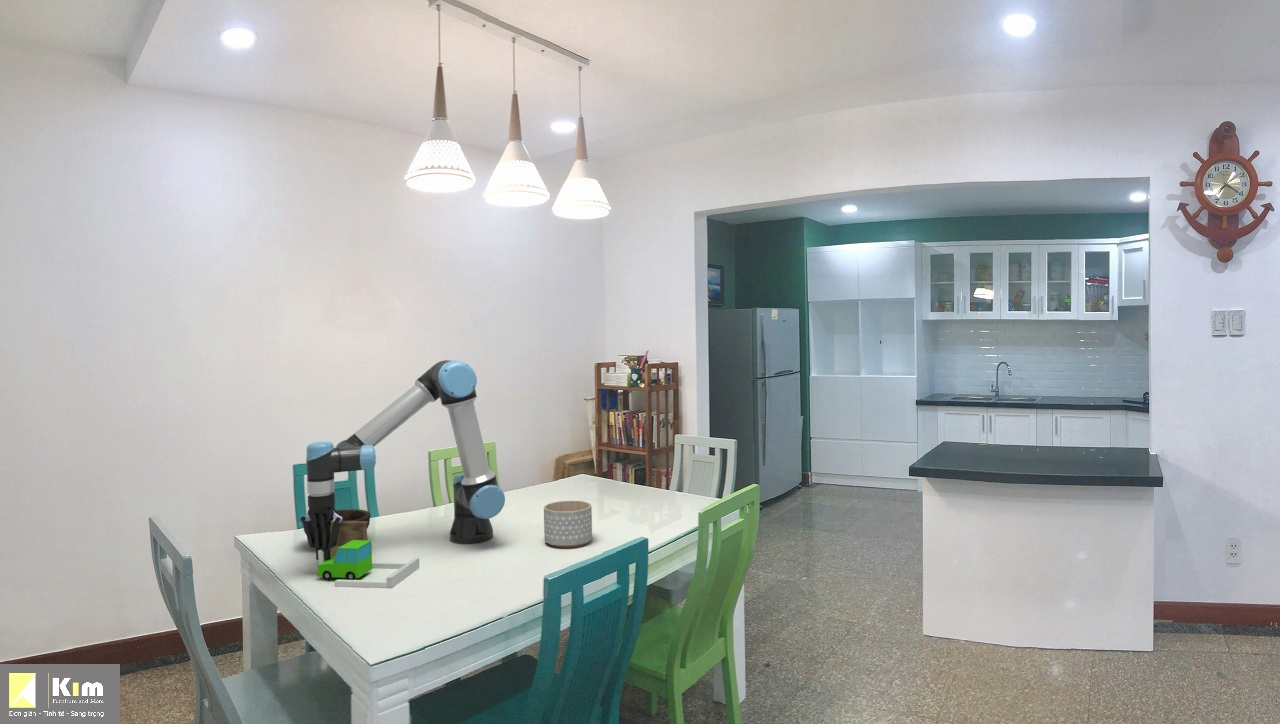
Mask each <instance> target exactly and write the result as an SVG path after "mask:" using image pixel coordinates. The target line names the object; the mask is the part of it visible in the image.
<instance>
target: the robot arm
mask: <svg viewBox="0 0 1280 724" xmlns="http://www.w3.org/2000/svg"><path fill="white" fill-rule="evenodd" d="M477 378H478V377H477V375H476V372H475V370H474V369H473V368H472V366H470V365H469V364H468V363H466V362H464V361H461V360H451V359H450V360H448V359H445V360H440V361H438V362H437V363H435V364H434V365H432V366H431V367H430V368H429V369H427V371H425V372H424V373H423V374H422V375H421V376H420V377H418V378H417V379H415V380H414V381H415V382H414V385H413V386H412V387H411V388H409V389H408V390H407V391H405V392H404V393H403V394H401V396H399V397H398V398H397V399H395V400H394V401H393V402H392V403H391V404H389V405H388V406H387V407H385V408H384V409H383V410H382V411H380V412H379V413H378V414H377V415H376V416H374V417H373V418H372V419H370V420H369V421H368V422H367V423H366V424H364V425H363V426H362V427H361V428H359V429H358V430H357V431H356V432H354V433H353V434H352V435H350V436H349V437H348V438H347V439H344V440H341V441H339V442H338V443H337V444H336V446H335V447H334V443H333V442H331V441H316V442H311V443H309V444H308V445H307V447H306V458H305V461H306V462H305V463H306V479H307V480H306V486H307V489H306V490H307V494H308V496H307V507H308V511H307V513H306V514H305V515H303V516H301V517H300V521H301V523H302V525H303V524H304V527H303V529H304V528H305V531H306V534H305V536H306V538H307V542H308V547H309V548H310V549H314V550H315V558H316V559H315V560H316V561H318V565H319V564H321V563H322V562H324V561H326V560H329V559H330V549H331V548H333V547H334V546H336V544H337V539H338V534H339V529H340V524H341V522H342V520H343V518H344V517H343V516H339V515H338V514H336V510H337V509H336V508H335V506H336V496H335V495H336V494H335V491H336V490H335V474H336V473H343V472H357V471H366V470H371V469H373V468H375V466H376V463H377V454H376V449H375V447H376V446H377V445H379V443H381V442H382V441H384V440H385V439H386V438H387V437H389V435H391V434H392V433H394V432H395V431H396V430H397V429H398V428H400V427H401V426H402V425H403V424H404V423H405V422H407V421H408V420H409V419H410V418H411V417H413V416H415V414H417V413H418V412H419V411H420V410H422V408H424V407H425V406H427V405H428V404H429V403H434V402H436V401H438V399H440V403H441V405H442V407H444V408H446V409H447V411H448V415H449V419H450V423H451V427H452V431H453V435H454V439H455V445H456V448H457V452H458V457H459V460H460V464H461V468H462V473H463V474H457V475H455V476H454V477H453V483H452V487H453V511H454V515H453V517H454V518H453V520H452V521H453V522H452V525H451V527H450V531H449V541H451V542H452V543H456V544H475V543H477V544H478V543H481V542H486V541H489V540H490V539H493V537H494V528H493V525H492V523H491V520H490V519H492V518H494V517H496V516H498V514H499V513H501V511H502V510H503V508H504V506H505V502H506V496H505V494H504V492H503V490H502V488H501V487H500V486H499V485H498V480H497V476H496V473H495V472H494V471H492V470H491V469H490V466H489V461H488V458H487V454H486V453H487V452H486V449H485V445H484V444H485V443H484V441H483V437H482V436H483V435H482V431H481V428H480V425H479V424H480V423H479V419H478V415H477V411H476V407H475V401H476V400H477V397H478V396H477V391H476V386H477V382H478V381H477V380H478V379H477ZM333 518H334V519H333ZM332 519H333V525H332V530H331V531H330V526H331V520H332ZM311 520H312V521H313V524H312V521H311ZM322 548H323V549H322Z"/></svg>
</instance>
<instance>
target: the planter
mask: <svg viewBox="0 0 1280 724" xmlns="http://www.w3.org/2000/svg"><path fill="white" fill-rule="evenodd" d="M592 507H593V506H592V504H591V503H590V502H587V501H584V500H583V501H582V500H561V501H559V500H558V501H554V502H550V503H547V504H545V505H544V506H543V525H544V526H543V528H544V529H543V531H544V535H543V537H544V542H545V543H547V544H548V545H550V546H551V547H555V548H561V549H562V548H563V549H568V548H578V547H582V546H584V545H586V544H587V543H589V542H590V541H592V539H593V519H592V517H593V516H592V514H593V513H592Z"/></svg>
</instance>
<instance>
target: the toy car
mask: <svg viewBox="0 0 1280 724" xmlns="http://www.w3.org/2000/svg"><path fill="white" fill-rule="evenodd" d="M372 548H373V547H372V540H368V539H367V540H352V541H350V542H348V543H346V544H344V545H343V546H341V547H339V548H338V549H337V552H336V555H335V557H332V558H330V559H329V560H326V561H324V562H322V563H321V564H319V563H318V565H317V576H318V577H319V578H320V577H322V579H323V580H324V581H326V580H328V581H327V582H329V581H331V580H332V579H333V578H340V579H341V578H342V579H345V578H346V580H357V579H359V578H361V577H362V576H364V575H366V574H367V573H368V572H370V571H371V570H373V568H372V562H373V556H372V555H373V550H372Z"/></svg>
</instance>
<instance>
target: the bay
mask: <svg viewBox="0 0 1280 724" xmlns="http://www.w3.org/2000/svg"><path fill="white" fill-rule="evenodd" d="M419 568H420V558H419V557H414V558H412V559H411V560H410V561H408V562H402V561H401V562H400V561H399V562H397V561H396V562H395V561H394V562H393V561H372V569H389V570H390V569H391V570H393V569H396V570H395V571H394V572H392V573H391V574H390V575H388V576H387V577H386V580H367V579H355V580H347V579H336V580H334V587H340V588H341V587H343V588H372V589H373V588H375V589H376V588H379V589H393V588H395V586H397V585H398V584H400V583H401V582H402V581H403V580H405V579H406V578H407V577H409V576H410V575H412V574H413V573H414V572H416V571H417V570H418V569H419Z"/></svg>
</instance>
